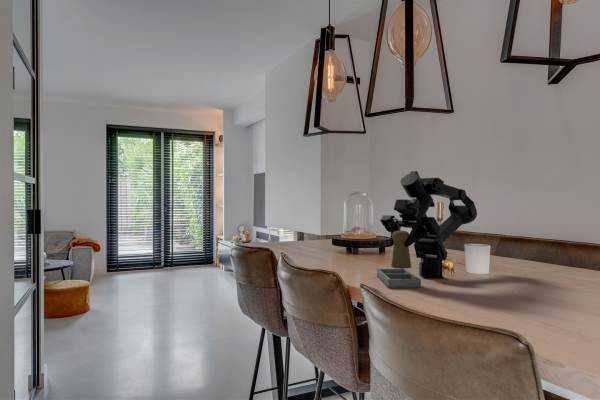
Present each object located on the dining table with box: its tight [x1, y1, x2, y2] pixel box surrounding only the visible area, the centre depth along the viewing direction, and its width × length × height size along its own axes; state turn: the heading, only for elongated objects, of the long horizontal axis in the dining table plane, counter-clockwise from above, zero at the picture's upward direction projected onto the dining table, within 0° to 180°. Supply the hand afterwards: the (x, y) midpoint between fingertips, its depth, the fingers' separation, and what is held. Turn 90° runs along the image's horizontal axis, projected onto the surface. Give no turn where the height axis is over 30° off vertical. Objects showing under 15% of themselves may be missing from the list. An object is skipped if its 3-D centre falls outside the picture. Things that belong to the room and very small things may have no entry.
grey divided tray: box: [376, 268, 422, 289], centre depth 132 cm, size 10×18×2 cm, turn 0°
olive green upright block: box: [390, 230, 412, 269], centre depth 128 cm, size 6×6×11 cm
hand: (398, 245), depth 127 cm, fingers closed on olive green upright block, 5 cm apart
